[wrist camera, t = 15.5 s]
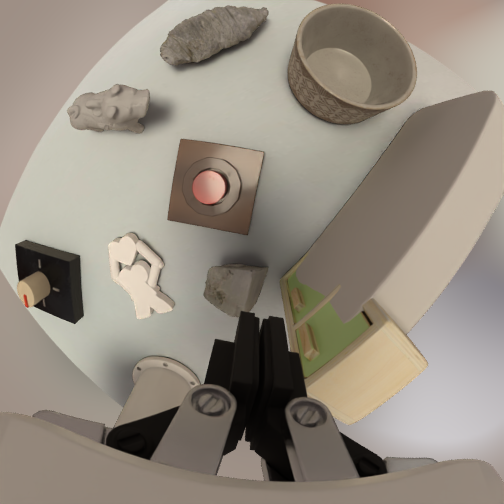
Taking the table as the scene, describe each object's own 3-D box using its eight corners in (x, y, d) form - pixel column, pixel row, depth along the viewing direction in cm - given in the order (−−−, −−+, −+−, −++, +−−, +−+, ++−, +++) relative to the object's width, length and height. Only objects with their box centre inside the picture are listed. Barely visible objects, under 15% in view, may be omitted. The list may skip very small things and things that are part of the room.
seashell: (283, 30, 25) (254, -3, 18) (199, 83, 31) (157, 68, 24) (263, 3, 24) (232, -28, 17) (186, 54, 31) (147, 37, 24)
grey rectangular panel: (333, 299, 37) (378, 386, 20) (292, 269, 36) (319, 351, 19) (445, 148, 30) (536, 148, 13) (413, 110, 29) (501, 85, 12)
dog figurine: (169, 135, 31) (135, 122, 21) (90, 134, 31) (42, 128, 21) (176, 96, 30) (146, 70, 20) (96, 100, 30) (51, 85, 19)
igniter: (248, 231, 35) (246, 238, 31) (172, 217, 34) (162, 222, 31) (264, 153, 32) (264, 150, 28) (185, 140, 32) (176, 136, 28)
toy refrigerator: (317, 232, 34) (386, 314, 14) (353, 269, 35) (431, 367, 15) (274, 275, 36) (287, 393, 16) (311, 308, 37) (349, 428, 17)
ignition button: (224, 205, 30) (222, 207, 29) (193, 199, 30) (189, 201, 28) (230, 173, 29) (228, 173, 28) (198, 168, 29) (195, 168, 27)
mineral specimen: (273, 243, 34) (277, 279, 27) (261, 297, 38) (262, 338, 31) (214, 234, 34) (203, 269, 27) (209, 290, 38) (200, 330, 31)
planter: (337, 29, 26) (360, -9, 16) (395, 98, 29) (436, 80, 19) (266, 69, 29) (268, 31, 19) (329, 144, 31) (357, 133, 21)
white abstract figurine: (147, 225, 34) (141, 230, 32) (183, 300, 38) (180, 308, 36) (98, 246, 35) (92, 251, 33) (135, 313, 39) (131, 321, 38)
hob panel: (80, 255, 36) (68, 262, 33) (83, 315, 39) (74, 324, 36) (25, 240, 36) (14, 244, 33) (31, 294, 39) (21, 301, 36)
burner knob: (32, 268, 34) (14, 278, 29) (48, 274, 34) (30, 285, 30) (35, 292, 35) (18, 303, 31) (51, 298, 35) (35, 311, 31)
